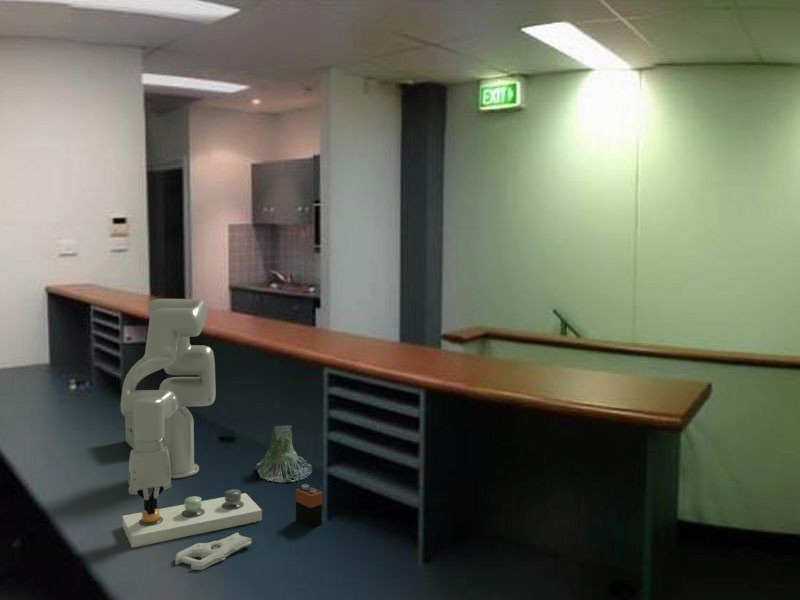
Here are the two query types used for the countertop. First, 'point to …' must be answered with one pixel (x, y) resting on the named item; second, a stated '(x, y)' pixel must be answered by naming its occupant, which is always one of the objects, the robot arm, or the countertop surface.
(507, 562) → the countertop surface
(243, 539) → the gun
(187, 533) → the button panel
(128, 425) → the stereo radio cassette player
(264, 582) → the countertop surface
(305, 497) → the battery
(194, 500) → the sage button
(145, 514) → the orange button
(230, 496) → the charcoal button
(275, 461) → the tree stump
